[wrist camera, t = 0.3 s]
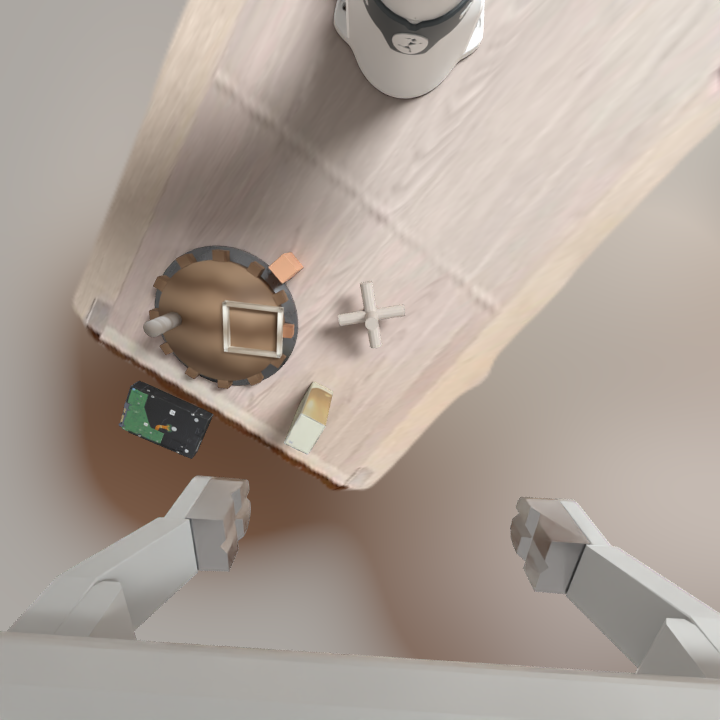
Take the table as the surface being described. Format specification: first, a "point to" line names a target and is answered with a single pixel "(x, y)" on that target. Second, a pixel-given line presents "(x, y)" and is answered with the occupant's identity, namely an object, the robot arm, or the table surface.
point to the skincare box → (309, 418)
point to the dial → (220, 319)
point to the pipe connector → (371, 314)
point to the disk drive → (164, 419)
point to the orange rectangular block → (285, 267)
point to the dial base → (268, 276)
